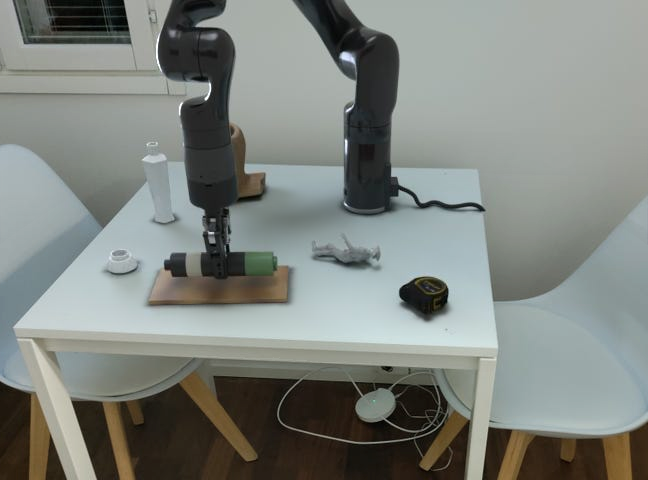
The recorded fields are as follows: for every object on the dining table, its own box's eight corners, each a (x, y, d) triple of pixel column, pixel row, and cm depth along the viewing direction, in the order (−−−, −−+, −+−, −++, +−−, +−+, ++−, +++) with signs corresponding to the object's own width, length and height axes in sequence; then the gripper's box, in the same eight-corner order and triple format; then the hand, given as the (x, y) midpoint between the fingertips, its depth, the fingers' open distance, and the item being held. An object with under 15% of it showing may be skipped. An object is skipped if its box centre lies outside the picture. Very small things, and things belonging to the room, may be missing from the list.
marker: (164, 281, 114) (160, 259, 112) (169, 270, 117) (165, 248, 115) (277, 280, 115) (275, 257, 112) (278, 269, 118) (277, 246, 116)
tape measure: (396, 302, 113) (397, 282, 111) (429, 290, 116) (430, 270, 114) (422, 321, 109) (424, 301, 106) (456, 308, 112) (458, 288, 109)
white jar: (124, 258, 125) (102, 270, 122) (121, 243, 123) (98, 254, 120) (143, 266, 123) (121, 278, 120) (140, 251, 121) (118, 262, 118)
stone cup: (196, 210, 142) (185, 136, 133) (196, 187, 152) (186, 117, 143) (270, 204, 144) (265, 131, 135) (266, 182, 154) (261, 113, 145)
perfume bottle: (171, 224, 136) (159, 149, 128) (150, 222, 137) (136, 147, 128) (181, 215, 140) (169, 140, 131) (160, 213, 141) (147, 139, 132)
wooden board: (288, 269, 122) (288, 265, 122) (286, 302, 113) (286, 298, 113) (161, 271, 121) (161, 267, 121) (149, 305, 112) (148, 300, 112)
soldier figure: (326, 251, 130) (386, 240, 125) (326, 276, 128) (388, 265, 124) (307, 236, 123) (370, 224, 118) (307, 263, 121) (371, 251, 117)
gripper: (192, 154, 111) (206, 252, 121) (178, 189, 100) (194, 294, 110) (240, 154, 111) (249, 251, 122) (231, 189, 100) (242, 293, 110)
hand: (223, 271), depth 116 cm, fingers closed on marker, 4 cm apart
